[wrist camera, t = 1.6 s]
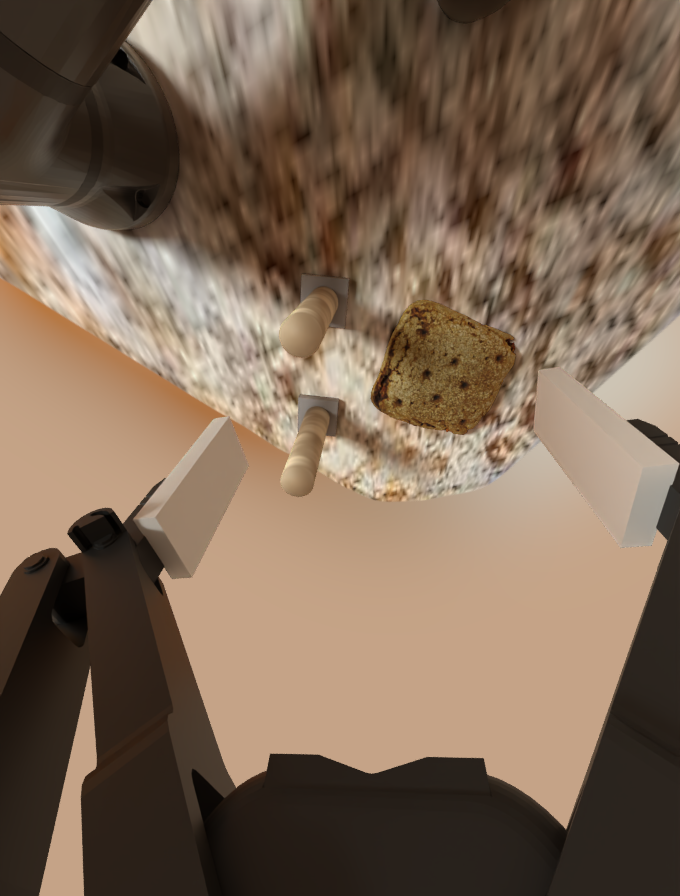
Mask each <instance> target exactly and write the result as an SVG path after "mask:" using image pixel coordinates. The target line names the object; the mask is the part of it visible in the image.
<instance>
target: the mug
mask: <svg viewBox="0 0 680 896" xmlns="http://www.w3.org/2000/svg"><path fill="white" fill-rule="evenodd" d="M437 1H438V4H439V6H440V7H441V9H442V11H443V12H444V13H445V14H446V15H447V16H448V17H449V18H450V19H452V20H454V21H456V22H459V23H470V22H474V21H476V20H478V19H481V18H484V17H486V16H488V15H490V14H492V13H494V12H495V11H497V10H499V9H500V8H501V7H502V6H504V5H505V4H506V3H507V2H508V1H510V0H437Z"/></svg>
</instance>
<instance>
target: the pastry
mask: <svg viewBox="0 0 680 896" xmlns="http://www.w3.org/2000/svg"><path fill="white" fill-rule="evenodd" d="M513 339H514V338H513V337H512V336H511V335H509V334H507V333H505V332H502V331H500V330H497V329H495V328H493V327H489V326H487V325H481V324H480V323H478V322H476V321H474V320H472V319H471V318H469V317H467V316H465V315H463V314H461V313H458V312H456V311H454V310H452V309H450V308H448V307H446V306H443V305H441V304H439V303H435V302H433V301H429V300H418V301H416V302H415V303H413V304H411V305H410V306H409V307H408V308H407V309H406V310H405V312H404V313H403V315H402V317H401V318H400V321H399V323H398V325H397V327H396V328H395V329H394V332H393V333H392V336H391V338H390V341H389V344H388V346H387V350H386V353H385V357H384V361H383V363H382V367H381V369H380V373H379V375H378V378H377V380H376V382H375V384H374V386H373V388H372V392H371V400H372V403H373V404H374V406H375V407H376V408H377V409H379V410H380V411H381V412H383V413H385V414H387V415H389V416H390V417H392V418H395V419H397V420H401V421H404V422H407V423H409V424H412V425H414V426H417V425H418V426H420V427H423V428H428V429H435V430H444V429H446V432H448V431H451V432H452V433H453V434H459V435H464V434H465V433H467V430H468V429H472V428H474V427H475V426H476V425H477V424H478V422H479V421H480V419H481V417H483V416H484V415H485V414H486V413H487V412H488V411H489V410H490V408H491V406H492V403H493V402H494V400H495V398H496V396H497V394H498V392H499V389H500V387H501V385H502V383H503V379H504V378H505V377H506V375H507V374H508V372H509V371H510V369H511V368H512V367H513V365H514V360H515V358H516V356H515V355H516V354H515V353H514V350H515V346H514V343H510V342H509V341H511V340H513Z"/></svg>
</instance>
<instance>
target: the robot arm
mask: <svg viewBox="0 0 680 896" xmlns="http://www.w3.org/2000/svg"><path fill="white" fill-rule="evenodd" d="M151 2H152V0H0V205H28V206H49V207H51V208H53V209H55V210H57V211H59V212H61V213H63V214H65V215H67V216H69V217H71V218H73V219H75V220H77V221H79V222H81V223H83V224H86V225H89V226H92V227H96V228H100V229H105V230H130V229H136V228H140V227H143V226H145V225H147V224H149V223H151V222H152V221H153V220H155V219H156V218H157V217H158V216H159V215H160V214H161V213H162V212H163V211H164V209H165V208H166V207H167V205H168V203H169V202H170V200H171V197H172V195H173V192H174V190H175V186H176V182H177V177H178V169H179V148H178V139H177V133H176V128H175V124H174V120H173V117H172V114H171V111H170V108H169V105H168V103H167V100H166V98H165V96H164V93H163V91H162V89H161V87H160V86H159V84H158V82H157V80H156V78H155V77H154V75H153V74H152V72H151V71H150V69H149V68H148V66H147V65H146V64H145V62H144V61H143V60H142V59H141V57H140V56H139V55H138V54H137V53H136V52H135V50H134V49H133V48H131V47H130V46H129V45H128V44H127V43H126V42H125V40H126V39H127V37H128V36H129V34H130V33H131V31H132V30H133V28H134V27H135V25H136V24H137V22H138V21H139V19H140V18H141V16H142V15H143V13H144V12H145V11H146V9H147V8H148V6H149V5H150V3H151ZM533 431H534V432H535V433H536V435H537V436H538V437H539V439H540V440H541V441H542V443H543V444H544V445H545V447H546V448H547V449H548V451H549V452H550V454H551V455H552V456H553V458H554V459H555V460H556V462H557V463H558V464H559V466H560V467H561V468H562V470H563V471H564V472H565V474H566V475H567V476H568V478H569V479H570V480H571V482H572V483H573V484H574V486H575V487H576V488H577V490H578V491H579V492H580V494H581V495H582V497H583V498H584V499H585V501H586V502H587V503H588V505H589V506H590V507H591V509H592V510H593V511H594V513H595V514H596V515H597V517H598V518H599V519H600V521H601V522H602V523H603V525H604V526H605V527H606V529H607V530H608V531H609V533H610V534H611V535H612V537H613V538H614V540H615V541H616V542H617V544H618V545H619V546H620V547H621V548H624V547H639V546H652V542H653V540H654V537H655V534H656V531H657V529H658V530H659V532H660V533H661V534H662V535H663V536H664V537H665V538H666V539H667V540H668V541H667V544H666V546H665V549H664V552H663V555H662V557H661V560H660V563H659V566H658V569H657V572H656V575H655V578H654V581H653V584H652V586H651V589H650V592H649V595H648V598H647V601H646V604H645V607H644V609H643V612H642V615H641V618H640V621H639V624H638V626H637V629H636V632H635V635H634V638H633V641H632V644H631V647H630V650H629V652H628V655H627V658H626V661H625V664H624V667H623V669H622V672H621V675H620V678H619V681H618V684H617V687H616V690H615V693H614V695H613V698H612V701H611V704H610V707H609V709H608V713H607V716H606V718H605V721H604V724H603V727H602V730H601V733H600V735H599V738H598V741H597V744H596V747H595V750H594V753H593V755H592V758H591V761H590V764H589V767H588V770H587V772H586V775H585V778H584V781H583V784H582V787H581V789H580V792H579V795H578V798H577V800H576V803H575V806H574V809H573V812H572V814H571V817H570V820H569V823H568V826H567V829H565V828H564V827H563V826H562V825H561V824H560V823H559V822H558V821H557V820H556V819H555V818H554V817H553V816H552V815H551V814H550V813H549V812H548V811H547V810H546V809H544V808H543V807H542V806H541V805H540V804H538V803H537V802H536V801H535V800H533V799H532V798H531V797H530V796H528V795H526V794H525V793H523V792H522V791H520V790H519V789H517V788H516V787H514V786H512V785H510V784H508V783H506V782H504V781H502V780H500V779H498V778H495V777H492V776H489V775H487V772H486V767H485V762H484V759H483V758H446V757H445V758H444V757H426V758H423V759H420V760H416V761H413V762H410V763H407V764H404V765H401V766H398V767H394V768H391V769H388V770H385V771H382V772H379V773H375V774H369V773H365V772H363V771H360V770H357V769H355V768H352V767H349V766H347V765H344V764H341V763H339V762H336V761H334V760H331V759H328V758H326V757H323V756H321V755H307V754H306V755H304V754H270V758H269V762H268V767H267V771H265V772H262V773H260V774H258V775H256V776H254V777H252V778H250V779H248V780H247V781H245V782H244V783H242V784H241V785H239V786H238V787H237V788H236V787H235V785H234V783H233V781H232V779H231V778H230V776H229V774H228V772H227V770H226V768H225V765H224V763H223V760H222V757H221V754H220V751H219V748H218V745H217V742H216V739H215V736H214V733H213V730H212V727H211V724H210V721H209V718H208V715H207V712H206V709H205V707H204V703H203V700H202V698H201V695H200V692H199V689H198V686H197V683H196V680H195V677H194V674H193V671H192V668H191V665H190V662H189V659H188V656H187V653H186V650H185V647H184V644H183V641H182V638H181V635H180V632H179V629H178V627H177V623H176V620H175V618H174V615H173V612H172V609H171V606H170V603H169V600H168V597H167V594H166V591H165V588H164V585H163V583H162V581H161V580H160V578H159V577H158V576H159V575H160V573H161V571H162V569H163V568H165V569H166V571H167V572H168V574H169V575H170V577H171V578H172V579H176V578H190V577H192V576H193V574H194V572H195V570H196V568H197V567H198V564H199V563H200V561H201V559H202V557H203V555H204V553H205V551H206V549H207V547H208V545H209V543H210V541H211V539H212V537H213V535H214V533H215V531H216V529H217V527H218V525H219V523H220V521H221V520H222V518H223V516H224V513H225V512H226V510H227V508H228V506H229V504H230V502H231V500H232V498H233V496H234V494H235V492H236V490H237V488H238V486H239V484H240V482H241V480H242V478H243V476H244V474H245V472H246V470H247V469H248V466H249V465H248V462H247V460H246V457H245V455H244V452H243V449H242V447H241V444H240V442H239V439H238V437H237V434H236V432H235V429H234V427H233V424H232V422H231V419H230V417H229V416H228V417H222V418H215V419H213V420H212V422H211V423H210V424H209V426H208V427H207V428H206V429H205V430H204V432H203V433H202V434H201V435H200V437H199V438H198V439H197V440H196V442H195V443H194V444H193V445H192V447H191V448H190V449H189V450H188V452H187V453H186V454H185V455H184V457H183V458H182V459H181V460H180V462H179V463H178V464H177V465H176V466H175V468H174V469H173V470H172V471H171V473H170V474H169V475H168V477H167V478H164V479H163V480H162V481H160V482H159V483H158V484H156V485H155V486H154V487H153V488H152V489H151V490H150V492H149V493H148V494H147V495H146V497H145V498H144V499H143V500H142V501H141V503H140V505H138V506H137V507H136V509H135V510H134V511H133V512H132V513H131V515H130V516H129V517H128V518H127V520H126V521H125V522H124V523H123V524H122V523H121V521H120V519H119V518H118V516H117V515H116V514H115V512H114V511H113V510H112V509H111V508H102V509H98V510H95V511H92V512H90V513H88V514H86V515H85V516H83V517H81V518H80V519H79V520H77V521H76V522H75V523H74V524H73V525H72V526H71V527H70V528H69V530H68V533H67V534H68V535H69V537H70V538H71V539H72V540H73V542H74V543H75V544H76V545H77V546H78V548H79V549H80V550H81V552H82V553H78V554H75V555H72V556H69V557H66V558H65V557H64V555H63V554H62V553H61V552H60V551H59V550H58V549H57V548H49V549H46V550H42V551H40V552H38V553H35V554H33V555H31V556H30V557H28V558H26V559H25V560H24V561H23V562H22V563H21V564H20V565H19V566H18V567H17V568H16V569H15V570H14V572H13V573H12V575H11V577H10V579H9V580H8V582H7V584H6V586H5V588H4V590H3V592H2V594H1V595H0V896H39V892H40V888H41V884H42V879H43V874H44V870H45V866H46V861H47V857H48V852H49V848H50V843H51V839H52V834H53V830H54V826H55V821H56V817H57V812H58V808H59V803H60V799H61V794H62V789H63V785H64V780H65V776H66V772H67V767H68V763H69V759H70V754H71V750H72V745H73V741H74V736H75V732H76V727H77V722H78V718H79V714H80V709H81V705H82V700H83V696H84V691H85V687H86V682H87V678H88V674H89V669H90V666H91V680H92V695H93V708H94V723H95V737H96V752H97V767H96V769H95V770H93V771H92V772H91V773H89V774H88V775H87V776H86V777H85V779H84V782H83V784H82V791H81V814H82V845H83V873H84V896H680V444H679V445H678V442H677V441H675V440H674V439H673V438H671V437H668V435H667V434H666V433H664V432H663V431H661V430H660V429H659V428H658V427H656V426H654V425H652V424H649V423H647V422H644V421H641V420H639V419H634V420H625V419H624V418H622V417H621V416H620V415H619V414H617V413H616V412H615V411H614V410H613V409H611V408H610V407H609V406H607V405H606V404H605V403H604V402H603V401H601V400H600V399H599V398H598V397H596V396H595V395H594V394H593V393H591V392H590V391H589V390H588V389H586V388H585V387H584V386H583V385H582V384H580V383H579V382H578V381H577V380H575V379H574V378H573V377H572V376H570V375H569V374H568V373H567V372H565V371H564V370H563V369H562V368H560V367H555V368H549V369H542V370H539V371H538V383H537V394H536V406H535V418H534V430H533Z"/></svg>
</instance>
